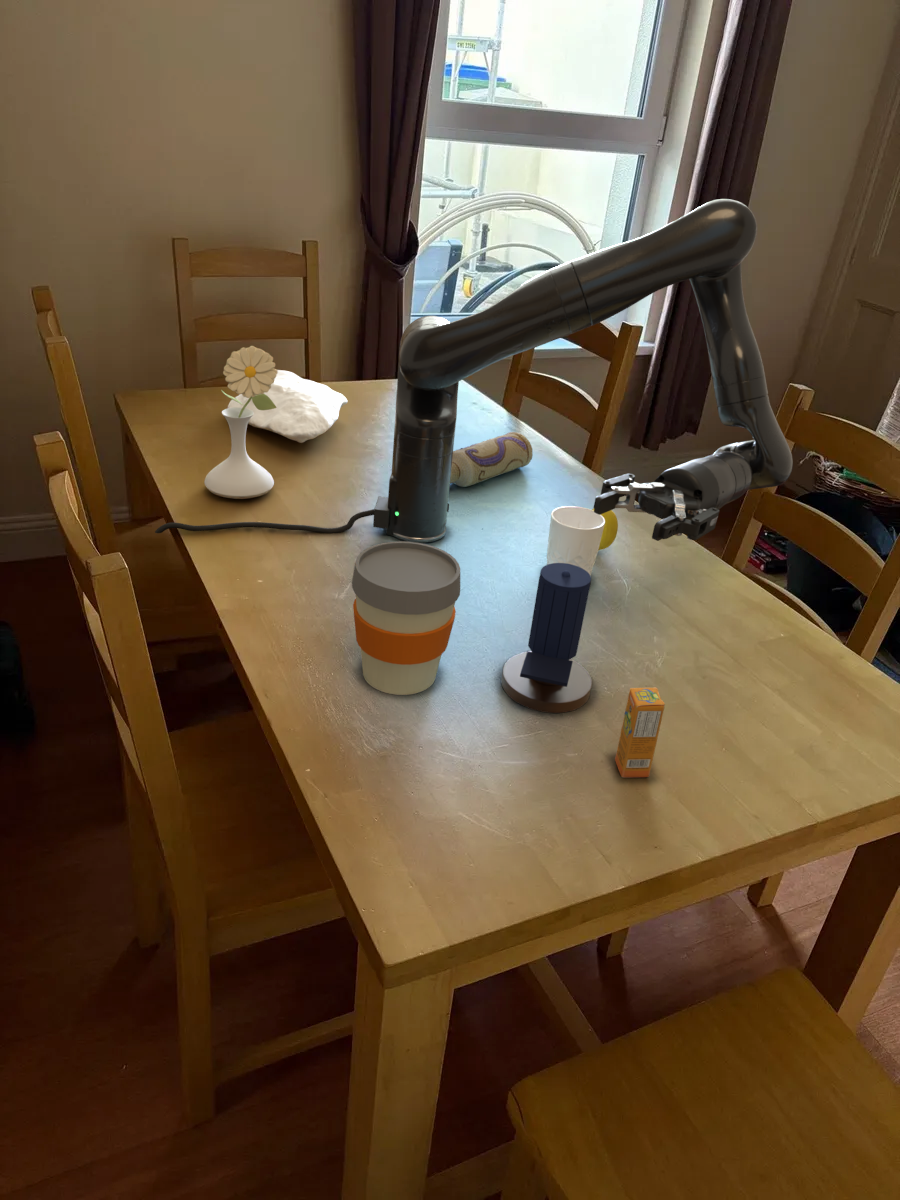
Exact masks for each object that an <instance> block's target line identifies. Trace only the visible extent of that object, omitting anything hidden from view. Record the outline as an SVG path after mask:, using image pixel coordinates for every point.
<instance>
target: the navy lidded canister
mask: <svg viewBox="0 0 900 1200" xmlns="http://www.w3.org/2000/svg"><path fill="white" fill-rule="evenodd" d="M591 583H592V575H591V576H590V574H589V573H588V572H587V571H586V570H584V569H582V568H580V567H578V566H575V565H572V564H567V563H552V564H548V565H547V564H546V565H544V566H542V567H541V569H540V573H539V577H538V583H537V588H536V595H535V601H534V607H533V613H532V618H531V619H532V620H531V625H530V632H529V636H528V637H529V638H528V644H527V646H528V649H530V650H529V651H532V652H528V651H526V652H527V654H526V657H525V661H524V664H523V667H522V670H521V673H520V677H524V678H528V679H533V680H538V681H542V682H547V683H551V684H556V685H560V686H565V687H567V684H568V680H569V676H570V672H571V667H572V663H573V661H570V659H574V658H575V657H576V656H577V653H578V648H579V644H580V638H581V633H582V629H583V624H584V619H585V614H586V613H585V612H586V609H587V604H588V598H589V593H590V589H591V588H590V587H591Z"/></svg>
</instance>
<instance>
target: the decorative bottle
mask: <svg viewBox="0 0 900 1200" xmlns="http://www.w3.org/2000/svg"><path fill="white" fill-rule="evenodd" d="M532 460H533V447H532V443H531V442H530V440H529V439H528V438H527V437H526V436H525V435H524V434H522V433H520V432H516V431H510V432H507V433H505V434H503V435H499V436H495V437H493V438H489V439H486V440H482V441H481V442H477V443H474V444H470V445H468V446H465V447H460V448H458V449H455V450H453V457H452V467H451V477H450V484H454V485H456V486H458V487H461V488H465V487H470V486H474V485H476V484H478V483H482V482H484V481H487V480H489V479H491V478H495V477H497V476H499V475H503V474H506V473H509V472H512V471H514V470H516V469H520V468H524V467H526V466H528V465H529V464H530V463H531V461H532Z"/></svg>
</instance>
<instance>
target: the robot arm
mask: <svg viewBox="0 0 900 1200" xmlns="http://www.w3.org/2000/svg"><path fill="white" fill-rule="evenodd" d="M757 234H758V223H757V219H756V217H755V215H754V212H753V211H752V210H751V209H750V208H749V207H748V206H747V205H746V204H744V203H743V202H741V201H738V200H734V199H729V198H720V199H713V200H710V201H708V202H706V203H704V204H702V205H701V206H698V207H697V208H695V209H694V210H692V211H690V212H688V213H686V214H685V215H682V216H681V217H680V218H677V219H676V220H674V221H672V222H669V223H668V224H665V225H664V226H662V227H660V228H658V229H656V230H654V231H652V232H650V233H647V234H645V235H642V236H640V237H637V238H635V239H631V240H627V241H625V242H622V243H618V244H615V245H612V246H609V247H606V248H602V249H600V250H597V251H595V252H592V253H589V254H586V255H583V256H581V257H578V258H575V259H572V260H570V261H566V262H564V263H563V264H559V265H558V266H555V267H552V268H550V269H548V270H546V271H544V272H541V273H540V274H537V275H535V276H534V277H531V278H530V279H529V280H526V281H525V282H523V283H522V284H521V285H520V286H518V287H516V288H515V289H514V290H512V291H511V292H509V293H508V294H507V295H505V296H504V297H503V298H501V299H500V300H498V301H496V302H495V303H493V304H492V305H489V306H488V307H487V308H485V309H483V310H481V311H478V312H476V313H474V314H471V315H468V316H465V317H462V318H460V319H456V320H453V321H448V320H447V319H445V318H443V317H441V316H438V315H424V316H421V317H418V318H417V319H414V320H413V321H412V322H411V323H409V324H408V325H407V327H406V328H405V329H404V331H403V333H402V335H401V338H400V341H399V348H398V349H399V351H398V365H397V381H396V383H397V385H396V396H395V408H394V410H395V411H394V427H393V429H394V431H393V446H392V460H391V473H390V477H389V480H388V496H381V495H378V497H377V499H376V500H377V501H376V504H375V505H374V509H369V510H364V511H360V512H358V513H355V514H354V515H352V516H351V517H350V518H349V520H348V521H347V523H346V524H344V525H342V526H338V527H321V526H314V525H307V524H288V523H276V522H274V523H273V522H262V521H239V522H238V521H237V522H226V523H216V524H205V525H204V524H203V525H192V524H187V523H181V522H175V521H174V522H167V523H164V524H162V525H160V526H159V527H158V528H157V529H156V530H155V531H154V533H155V534H162V533H163V532H165V531H167V530H169V529H179V530H183V531H189V532H210V531H219V530H230V529H241V528H242V529H245V528H246V529H247V528H249V529H250V528H253V529H255V528H258V529H272V530H273V529H274V530H283V531H301V532H302V531H303V532H304V531H305V532H311V533H317V534H338V533H339V534H341V533H344V532H346V531H349V530H350V529H351V528H352V527H353V526H354V524H355V522H356V521H358V520H359V519H362V518H366V517H371V516H373V524H372V527H373V528H377V529H378V528H379V529H385V535H387V536H393V537H395V538H396V539H399V540H401V541H404V542H416V543H422V544H425V543H431V542H436V541H438V540H441V539H442V538H443V537H444V536H445V535H446V533H447V532H446V531H447V517H448V516H447V515H448V513H449V512H450V511H449V509H450V503H449V497H450V486H451V483H450V477H451V467H452V457H453V451H454V447H455V436H456V426H457V416H458V398H459V397H458V396H459V395H458V394H459V384H460V382H461V381H462V380H465V379H467V378H468V377H470V376H472V375H473V374H475V373H477V372H479V371H481V370H483V369H485V368H487V367H489V366H491V365H492V364H495V363H497V362H499V361H501V360H505V359H506V358H509V357H512V356H515V355H518V354H521V353H523V352H527V351H529V350H532V349H535V348H538V347H541V346H543V345H546V344H548V343H551V342H553V341H555V340H559V339H562V338H565V337H568V336H570V335H573V334H575V333H577V332H580V331H583V330H585V329H587V328H591V327H592V326H595V325H597V324H600V323H601V322H604V321H606V320H608V319H610V318H612V317H614V316H616V315H617V314H620V313H621V312H623V311H625V310H626V309H628V308H630V307H632V306H634V305H635V304H637V303H638V302H640V301H642V300H644V299H645V298H647V297H649V296H651V295H652V294H654V293H656V292H658V291H660V290H663V289H665V288H667V287H670V286H673V285H675V284H678V283H682V282H684V281H688V280H689V282H690V284H691V288H692V290H693V294H694V296H695V299H696V304H697V307H698V310H699V314H700V319H701V322H702V327H703V331H704V335H705V337H704V338H705V342H706V348H707V353H708V361H709V367H710V373H711V378H712V379H711V380H712V384H713V392H714V397H715V403H716V408H717V414H718V419H719V420H720V423H721V424H722V425H724V426H726V427H733V428H743V429H745V430H747V431H748V432H749V434H750V435H751V437H752V439H750V440H744V441H738V442H737V441H736V442H733V443H729V444H725V445H723V446H720V447H719V448H717V450H715V452H713V453H712V454H710V455H707V456H705V457H699V458H698V457H697V458H694V459H691V460H689V461H687V462H684V463H681V464H679V465H676V466H673V467H671V468H668V469H666V470H664V471H663V472H662V473H660V474H659V476H657V478H656V479H655V480H654V481H653V482H643V483H639V482H636V481H635V479H636V475H635V474H633V473H625V474H622V475H619V476H616V477H612V478H609V479H606V480H603V481H602V485H601V491H600V494H599V495H596V496H595V499H594V503H593V509H594V513H596V514H599V515H601V514H603V513H605V512H608V511H610V510H612V511H613V510H615V509H625V510H626V512H629V513H644V514H645V513H647V514H648V515H652V516H654V517H656V518H658V519H661V520H659V521H656V522H655V524H654V526H653V529H652V530H653V531H652V534H651V539H652V540H654V541H657V542H659V541H661V540H667V539H669V538H671V537H673V536H676V537H681V536H682V535H683V534H684V535H687V536H686V538H687V539H689V540H691V541H697V540H699V539H701V538H702V537H704V536H705V535H706V534H708V533H710V532H712V531H713V530H715V528H716V525H717V522H718V518H719V514H720V509H722V508H723V507H724V506H725V505H727V504H730V503H731V502H734V501H736V500H737V499H740V497H742V496H743V495H744V494H746V493H747V492H748V491H750V490H757V489H766V488H767V489H768V488H775V487H778V486H782V485H783V484H785V483H786V482H787V480H788V479H789V478H790V476H791V474H792V470H793V464H794V463H793V462H794V461H793V454H792V451H791V448H790V446H789V443H788V441H787V439H786V437H785V435H784V433H783V431H782V429H781V427H780V424H779V423H778V420H777V418H776V416H775V414H774V411H773V408H772V406H771V403H770V398H769V395H768V394H769V391H768V385H767V380H766V379H767V378H766V373H765V367H764V361H763V359H762V354H761V351H760V347H759V345H758V342H757V339H756V337H755V333H754V330H753V328H752V325H751V323H750V320H749V316H748V312H747V308H746V304H745V298H744V291H743V276H742V275H743V274H742V271H743V270H742V262H743V261H744V260H745V259H746V258H747V257H748V255H749V254H750V252H751V251H752V249H753V247H754V244H755V241H756V239H757ZM623 497H625V500H620V499H621V498H623ZM636 497H638V498H637V499H638V504H635V502H636Z"/></svg>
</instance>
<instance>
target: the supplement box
mask: <svg viewBox="0 0 900 1200" xmlns="http://www.w3.org/2000/svg"><path fill="white" fill-rule="evenodd" d="M665 705H666V704H665V702H664V700H663V699H662V697H661V696H660V693H659V689H658V687H630V688H629V692H628V696H627V701H626V706H625V711H624V715H623V716H624V717H623V721H622V724H621V729H620V735H619V740H618V743H617V748H616V753H615V757H614V761H615V764H616V767H617V769H618V772H619V775H620V777H621V778H625V779H628V778H629V779H631V778H649V777H650V775H651V774H650V773H651V769H652V765H653V761H654V757H655V754H656V753H655V751H656V748H657V742H658V738H659V734H660V729H661V725H662V720H663V715H664V711H665Z"/></svg>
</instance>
